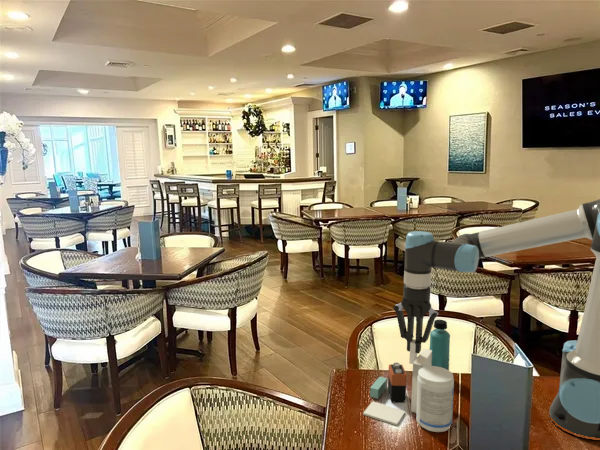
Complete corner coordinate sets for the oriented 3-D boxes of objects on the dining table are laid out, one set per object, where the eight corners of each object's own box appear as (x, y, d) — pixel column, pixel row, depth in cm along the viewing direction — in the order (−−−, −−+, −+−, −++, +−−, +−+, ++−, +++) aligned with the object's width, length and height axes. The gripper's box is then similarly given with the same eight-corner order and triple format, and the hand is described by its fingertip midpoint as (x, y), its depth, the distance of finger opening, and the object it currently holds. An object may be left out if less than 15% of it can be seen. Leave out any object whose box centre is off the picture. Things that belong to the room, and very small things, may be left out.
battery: (401, 391, 140) (402, 361, 138) (405, 403, 133) (407, 372, 132) (387, 391, 140) (388, 361, 138) (391, 403, 133) (392, 371, 132)
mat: (405, 413, 128) (405, 411, 128) (397, 425, 122) (397, 423, 122) (372, 403, 133) (372, 401, 133) (363, 414, 127) (363, 412, 127)
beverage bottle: (451, 383, 144) (454, 324, 141) (430, 383, 145) (433, 324, 141) (445, 373, 151) (448, 317, 148) (425, 373, 151) (428, 317, 148)
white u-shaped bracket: (429, 396, 137) (432, 350, 134) (419, 413, 127) (421, 365, 125) (421, 393, 138) (423, 348, 136) (410, 411, 129) (413, 363, 126)
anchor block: (386, 387, 142) (387, 378, 142) (377, 398, 135) (378, 389, 135) (379, 385, 143) (379, 376, 143) (370, 396, 137) (370, 387, 136)
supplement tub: (459, 430, 120) (462, 379, 118) (427, 436, 118) (430, 384, 115) (438, 410, 129) (441, 363, 127) (409, 415, 127) (411, 367, 124)
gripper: (443, 285, 128) (438, 362, 132) (399, 278, 135) (396, 352, 139) (436, 292, 122) (431, 373, 126) (390, 285, 128) (387, 361, 132)
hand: (413, 362), depth 132 cm, fingers closed
